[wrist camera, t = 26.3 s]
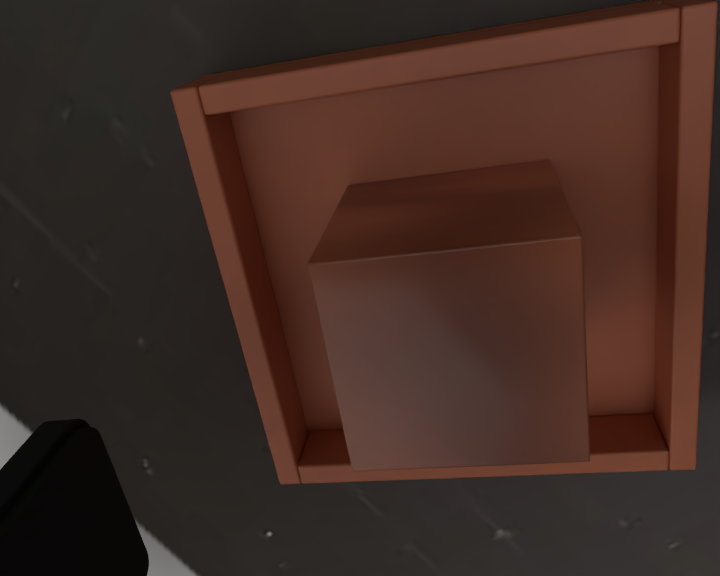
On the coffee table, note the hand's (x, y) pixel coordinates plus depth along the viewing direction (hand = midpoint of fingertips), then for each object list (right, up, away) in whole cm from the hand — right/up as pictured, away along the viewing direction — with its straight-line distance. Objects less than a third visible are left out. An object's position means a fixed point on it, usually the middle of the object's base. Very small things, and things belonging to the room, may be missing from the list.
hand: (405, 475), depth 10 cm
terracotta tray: (+2, +3, +6) cm, 8 cm away
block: (+2, +3, +6) cm, 7 cm away
